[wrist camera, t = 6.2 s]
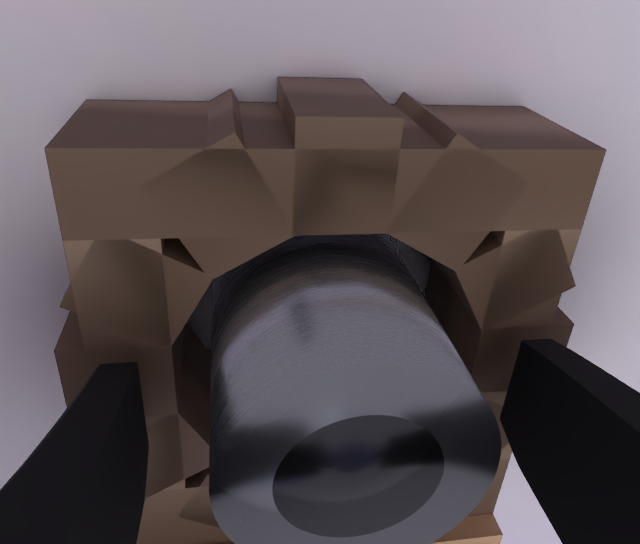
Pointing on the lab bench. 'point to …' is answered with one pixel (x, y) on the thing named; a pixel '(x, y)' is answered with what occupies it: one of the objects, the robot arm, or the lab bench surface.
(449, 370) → the bushing
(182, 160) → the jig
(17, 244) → the lab bench surface
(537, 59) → the lab bench surface
